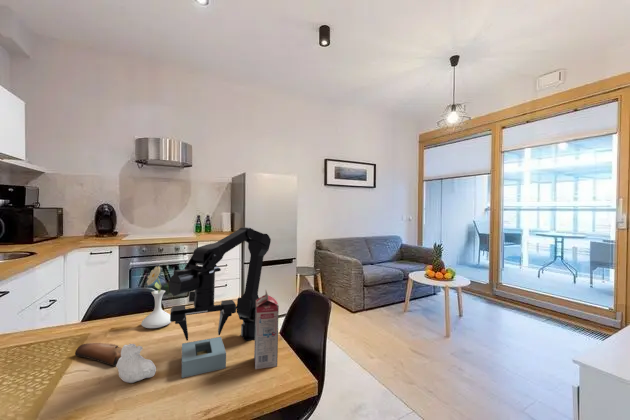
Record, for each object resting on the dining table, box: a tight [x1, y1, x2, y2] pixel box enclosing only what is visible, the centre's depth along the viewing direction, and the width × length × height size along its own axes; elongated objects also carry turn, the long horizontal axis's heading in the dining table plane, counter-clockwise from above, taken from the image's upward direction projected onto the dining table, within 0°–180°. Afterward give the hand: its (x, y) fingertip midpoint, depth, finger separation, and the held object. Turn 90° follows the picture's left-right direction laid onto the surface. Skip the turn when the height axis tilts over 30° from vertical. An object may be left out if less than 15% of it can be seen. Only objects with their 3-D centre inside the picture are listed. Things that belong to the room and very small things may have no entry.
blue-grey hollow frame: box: [181, 336, 227, 379], centre depth 84 cm, size 12×12×4 cm
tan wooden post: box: [197, 350, 208, 356], centre depth 84 cm, size 3×6×2 cm, turn 27°
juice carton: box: [253, 290, 279, 370], centre depth 85 cm, size 7×7×22 cm
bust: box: [116, 343, 157, 384], centre depth 75 cm, size 12×8×11 cm
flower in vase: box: [140, 265, 172, 329], centre depth 111 cm, size 13×11×25 cm
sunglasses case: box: [74, 342, 123, 368], centre depth 87 cm, size 18×7×7 cm, turn 72°
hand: (203, 337), depth 84 cm, fingers open, 9 cm apart
